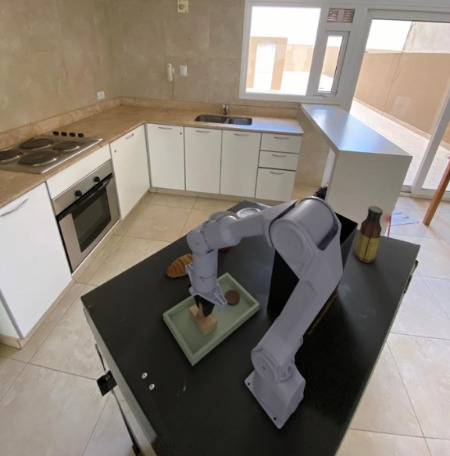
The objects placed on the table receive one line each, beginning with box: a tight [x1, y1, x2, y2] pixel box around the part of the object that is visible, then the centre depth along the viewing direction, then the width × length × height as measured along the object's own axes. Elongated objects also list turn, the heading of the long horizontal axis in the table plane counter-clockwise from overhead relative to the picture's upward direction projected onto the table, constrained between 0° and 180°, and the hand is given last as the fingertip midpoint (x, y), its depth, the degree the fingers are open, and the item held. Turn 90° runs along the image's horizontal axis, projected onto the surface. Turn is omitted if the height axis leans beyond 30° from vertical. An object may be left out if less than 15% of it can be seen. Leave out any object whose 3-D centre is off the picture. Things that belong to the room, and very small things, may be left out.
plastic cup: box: [207, 210, 240, 251], centre depth 90 cm, size 11×11×12 cm
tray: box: [162, 272, 261, 367], centre depth 67 cm, size 14×22×2 cm, turn 130°
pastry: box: [166, 253, 193, 279], centre depth 80 cm, size 9×7×4 cm
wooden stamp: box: [189, 296, 218, 337], centre depth 63 cm, size 7×4×8 cm, turn 41°
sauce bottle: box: [354, 205, 383, 264], centre depth 86 cm, size 6×6×20 cm
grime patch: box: [224, 290, 240, 306], centre depth 71 cm, size 4×4×1 cm
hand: (204, 309), depth 64 cm, fingers closed on wooden stamp, 2 cm apart
